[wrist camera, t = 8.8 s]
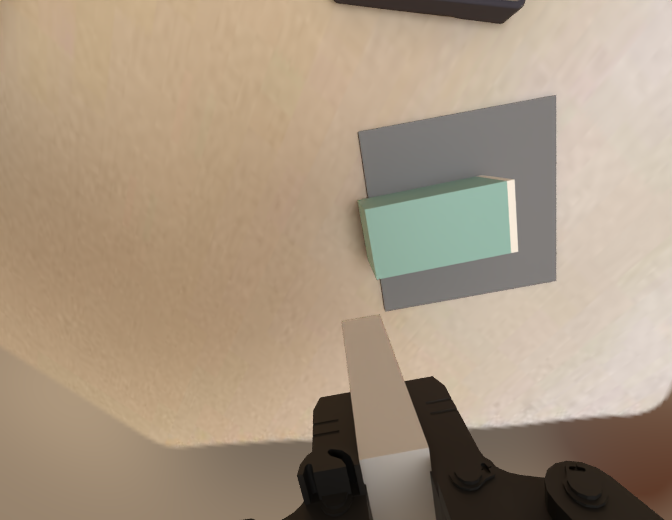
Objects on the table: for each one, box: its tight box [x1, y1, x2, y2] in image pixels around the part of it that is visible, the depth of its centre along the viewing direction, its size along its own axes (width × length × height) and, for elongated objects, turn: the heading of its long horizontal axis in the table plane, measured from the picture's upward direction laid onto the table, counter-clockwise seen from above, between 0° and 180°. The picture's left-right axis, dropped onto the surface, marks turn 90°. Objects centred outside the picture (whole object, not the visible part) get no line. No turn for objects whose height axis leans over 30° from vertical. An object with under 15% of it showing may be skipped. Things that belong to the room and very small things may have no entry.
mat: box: [358, 95, 556, 311], centre depth 35 cm, size 18×18×1 cm
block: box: [357, 175, 518, 280], centre depth 32 cm, size 6×6×12 cm
